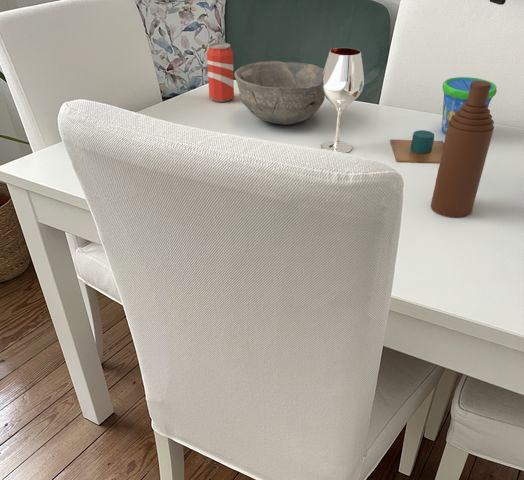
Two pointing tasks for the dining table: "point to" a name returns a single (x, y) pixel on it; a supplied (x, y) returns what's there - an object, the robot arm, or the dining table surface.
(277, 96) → the bowl
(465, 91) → the snack cup
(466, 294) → the dining table surface
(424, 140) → the cap
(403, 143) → the coaster
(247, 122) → the dining table surface
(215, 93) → the beverage can
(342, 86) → the wineglass
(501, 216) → the dining table surface
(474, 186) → the bottle
